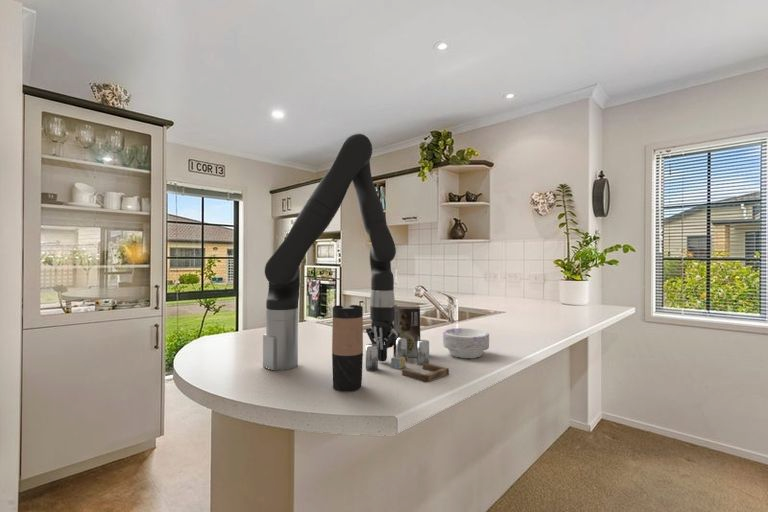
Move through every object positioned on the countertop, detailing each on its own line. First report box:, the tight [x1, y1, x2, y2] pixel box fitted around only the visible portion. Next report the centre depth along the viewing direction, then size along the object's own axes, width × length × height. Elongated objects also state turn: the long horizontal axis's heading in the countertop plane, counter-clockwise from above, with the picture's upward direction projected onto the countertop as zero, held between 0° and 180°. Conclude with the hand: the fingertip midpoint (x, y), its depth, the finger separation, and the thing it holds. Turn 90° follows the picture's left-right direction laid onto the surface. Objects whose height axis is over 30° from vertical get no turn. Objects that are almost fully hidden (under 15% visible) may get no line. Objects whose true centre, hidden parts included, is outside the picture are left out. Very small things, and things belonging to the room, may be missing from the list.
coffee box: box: [392, 305, 421, 358], centre depth 126 cm, size 9×6×16 cm
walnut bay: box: [401, 363, 450, 383], centre depth 104 cm, size 10×8×2 cm
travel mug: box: [331, 304, 364, 393], centre depth 94 cm, size 8×8×20 cm
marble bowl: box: [442, 327, 490, 359], centre depth 126 cm, size 15×15×8 cm
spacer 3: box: [416, 339, 430, 367], centre depth 115 cm, size 4×4×7 cm
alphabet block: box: [390, 356, 406, 370], centre depth 111 cm, size 3×3×3 cm
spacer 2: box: [396, 337, 408, 362], centre depth 120 cm, size 4×4×7 cm
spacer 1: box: [365, 343, 379, 372], centre depth 109 cm, size 4×4×7 cm
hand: (382, 360), depth 116 cm, fingers closed
